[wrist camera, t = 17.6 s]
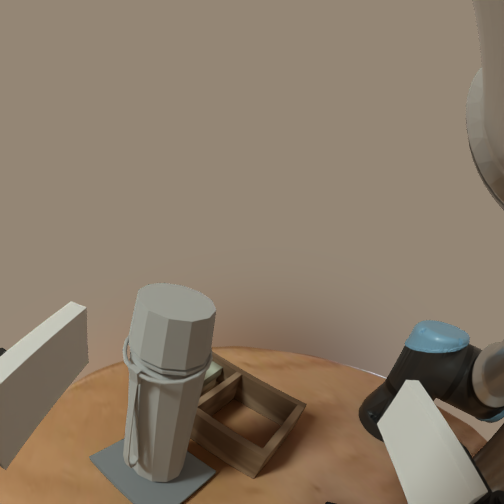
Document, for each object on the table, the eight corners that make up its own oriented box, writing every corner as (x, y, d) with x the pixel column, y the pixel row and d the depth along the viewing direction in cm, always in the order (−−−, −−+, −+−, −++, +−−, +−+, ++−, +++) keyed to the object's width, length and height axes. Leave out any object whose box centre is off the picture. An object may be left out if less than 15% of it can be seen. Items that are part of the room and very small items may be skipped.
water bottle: (150, 433, 32) (171, 274, 27) (195, 464, 30) (241, 309, 24) (105, 465, 24) (94, 293, 19) (153, 504, 21) (170, 348, 16)
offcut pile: (195, 375, 50) (200, 353, 49) (216, 388, 48) (223, 367, 47) (160, 397, 42) (163, 375, 40) (182, 414, 40) (187, 392, 38)
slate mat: (151, 425, 35) (152, 422, 35) (215, 473, 30) (216, 471, 29) (89, 459, 24) (89, 456, 24) (156, 523, 19) (156, 521, 19)
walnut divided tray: (195, 368, 52) (201, 344, 51) (293, 426, 42) (306, 404, 41) (141, 397, 40) (142, 371, 38) (253, 478, 30) (266, 458, 29)
